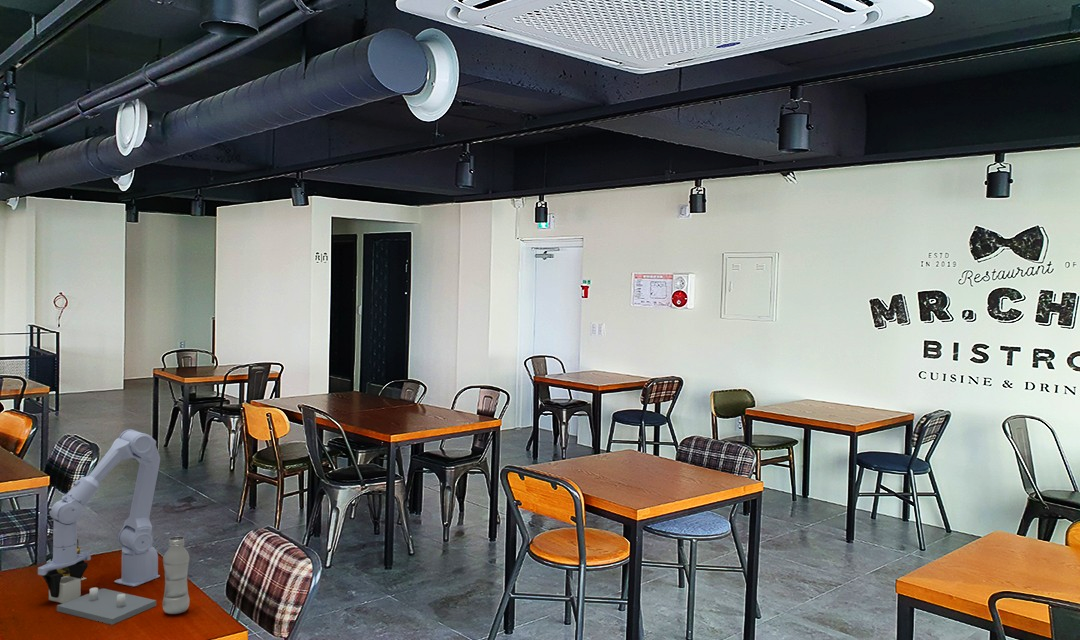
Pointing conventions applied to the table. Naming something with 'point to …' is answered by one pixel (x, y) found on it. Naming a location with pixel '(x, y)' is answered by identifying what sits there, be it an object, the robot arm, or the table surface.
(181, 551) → the plastic bottle
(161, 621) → the table surface
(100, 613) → the pin board
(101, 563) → the table surface
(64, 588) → the collar
